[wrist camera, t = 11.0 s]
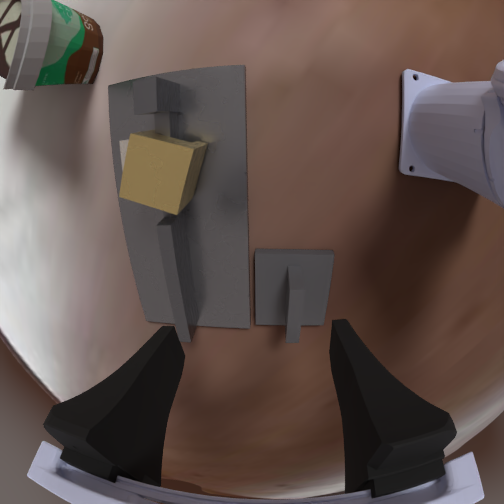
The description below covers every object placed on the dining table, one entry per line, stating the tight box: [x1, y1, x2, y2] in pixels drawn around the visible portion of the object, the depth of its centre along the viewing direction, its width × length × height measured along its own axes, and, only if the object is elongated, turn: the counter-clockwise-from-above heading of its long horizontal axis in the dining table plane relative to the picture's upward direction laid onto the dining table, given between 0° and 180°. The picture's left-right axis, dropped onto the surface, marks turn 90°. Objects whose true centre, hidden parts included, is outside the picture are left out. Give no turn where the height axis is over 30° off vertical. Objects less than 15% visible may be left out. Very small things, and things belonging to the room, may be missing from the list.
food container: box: [0, 0, 103, 90], centre depth 9 cm, size 12×6×10 cm, turn 54°
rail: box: [108, 65, 251, 342], centre depth 19 cm, size 10×21×5 cm, turn 1°
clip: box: [119, 130, 208, 215], centre depth 16 cm, size 4×4×4 cm
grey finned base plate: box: [255, 249, 334, 343], centre depth 21 cm, size 6×7×4 cm
